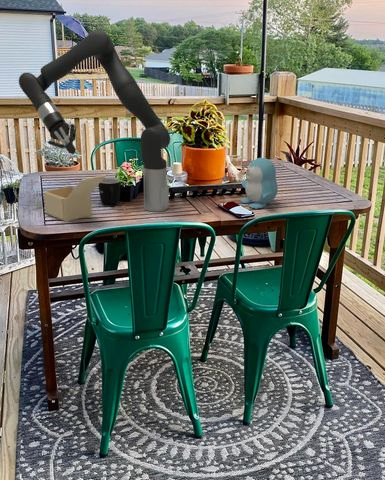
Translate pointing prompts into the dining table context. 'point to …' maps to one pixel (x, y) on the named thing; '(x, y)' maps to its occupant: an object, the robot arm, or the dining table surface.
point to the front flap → (86, 186)
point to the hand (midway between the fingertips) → (73, 152)
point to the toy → (260, 183)
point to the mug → (109, 191)
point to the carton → (67, 204)
